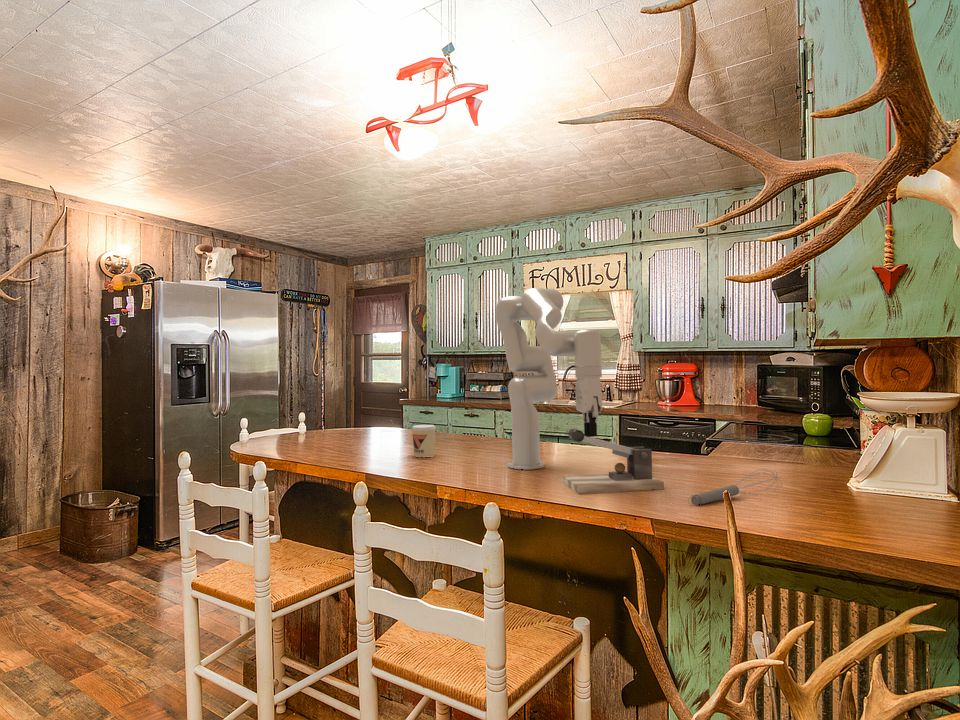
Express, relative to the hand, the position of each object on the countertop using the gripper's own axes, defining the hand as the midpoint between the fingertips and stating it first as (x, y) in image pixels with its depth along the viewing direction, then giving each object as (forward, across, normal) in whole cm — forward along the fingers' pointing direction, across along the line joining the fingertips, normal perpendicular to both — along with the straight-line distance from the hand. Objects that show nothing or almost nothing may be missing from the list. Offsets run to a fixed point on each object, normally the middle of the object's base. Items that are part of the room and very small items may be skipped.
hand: (590, 436), depth 157 cm
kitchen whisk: (+16, +19, +33) cm, 41 cm away
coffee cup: (+13, -65, -45) cm, 80 cm away
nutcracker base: (+15, -1, +6) cm, 16 cm away
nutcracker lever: (+5, -1, +4) cm, 7 cm away
